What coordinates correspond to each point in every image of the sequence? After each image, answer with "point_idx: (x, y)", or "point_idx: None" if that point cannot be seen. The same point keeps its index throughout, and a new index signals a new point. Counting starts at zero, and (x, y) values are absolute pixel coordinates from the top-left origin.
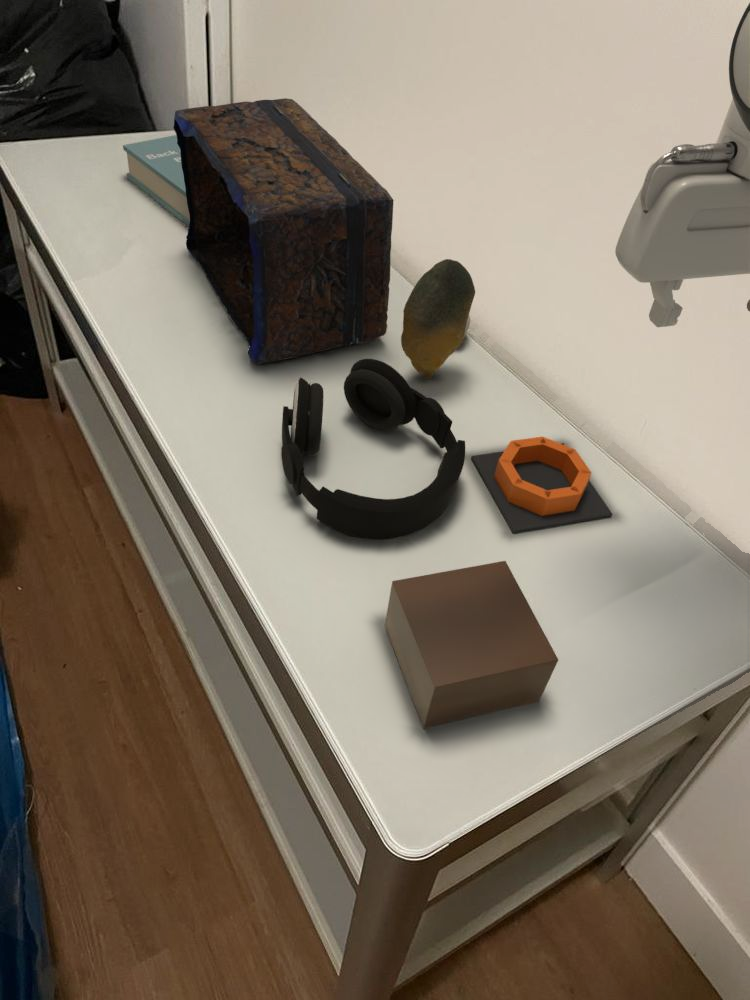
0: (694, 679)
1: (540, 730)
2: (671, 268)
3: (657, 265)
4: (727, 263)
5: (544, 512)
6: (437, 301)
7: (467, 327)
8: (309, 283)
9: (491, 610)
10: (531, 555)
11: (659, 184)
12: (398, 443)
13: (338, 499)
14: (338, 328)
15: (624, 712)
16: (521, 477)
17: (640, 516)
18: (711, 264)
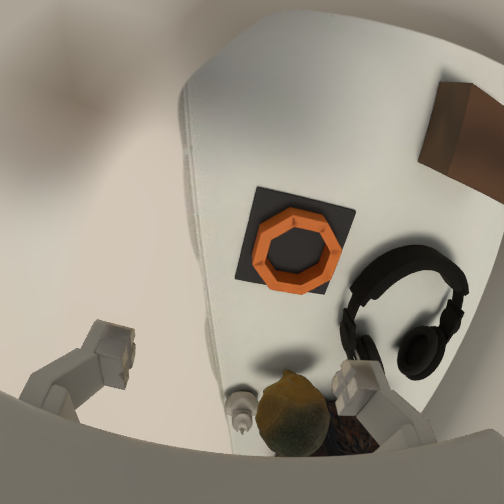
0: (325, 20)
1: (449, 67)
2: (477, 457)
3: (501, 456)
4: (355, 488)
5: (322, 215)
6: (316, 428)
7: (233, 399)
8: (363, 443)
9: (481, 145)
10: (358, 183)
11: None
12: (359, 322)
13: (465, 283)
14: (332, 414)
15: (395, 37)
16: (304, 259)
17: (228, 175)
18: (400, 481)
